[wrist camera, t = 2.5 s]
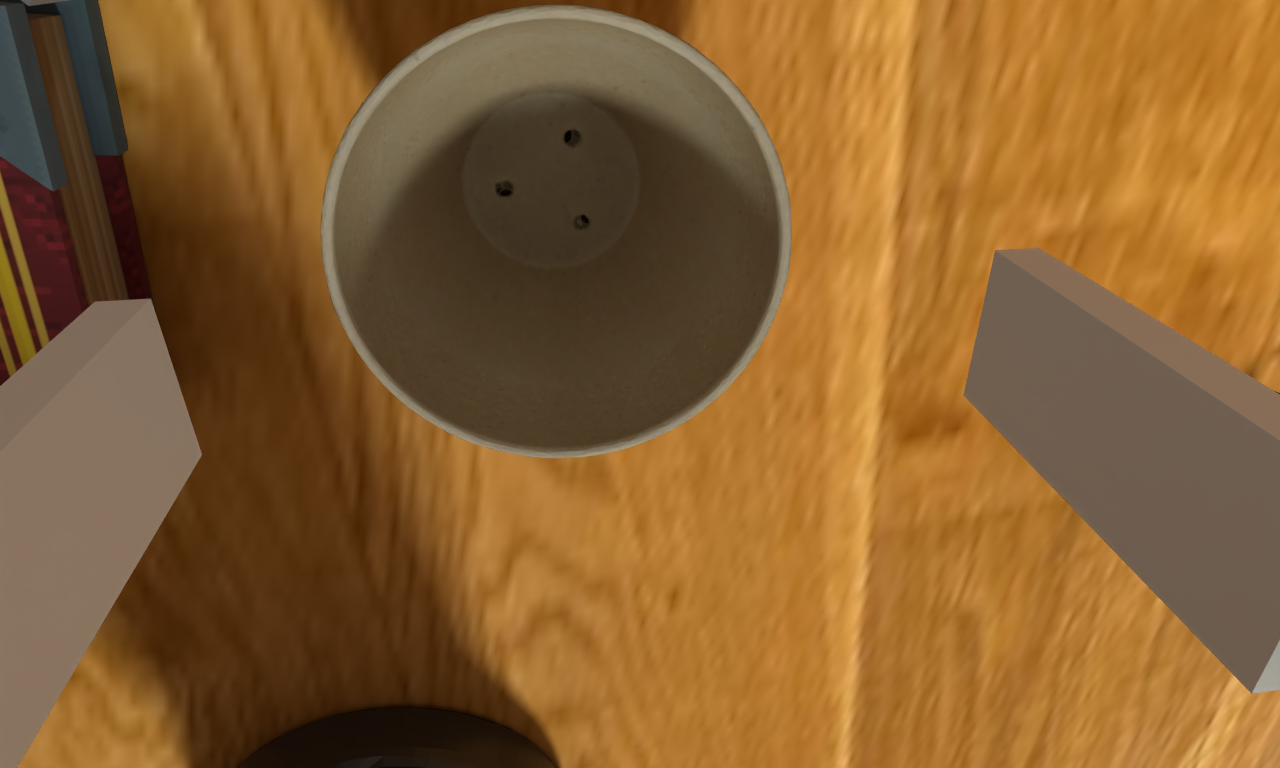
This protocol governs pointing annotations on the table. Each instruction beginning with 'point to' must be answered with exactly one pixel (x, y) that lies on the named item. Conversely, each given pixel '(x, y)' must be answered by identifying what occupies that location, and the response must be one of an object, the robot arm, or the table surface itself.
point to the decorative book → (60, 177)
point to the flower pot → (556, 231)
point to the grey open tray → (40, 2)
